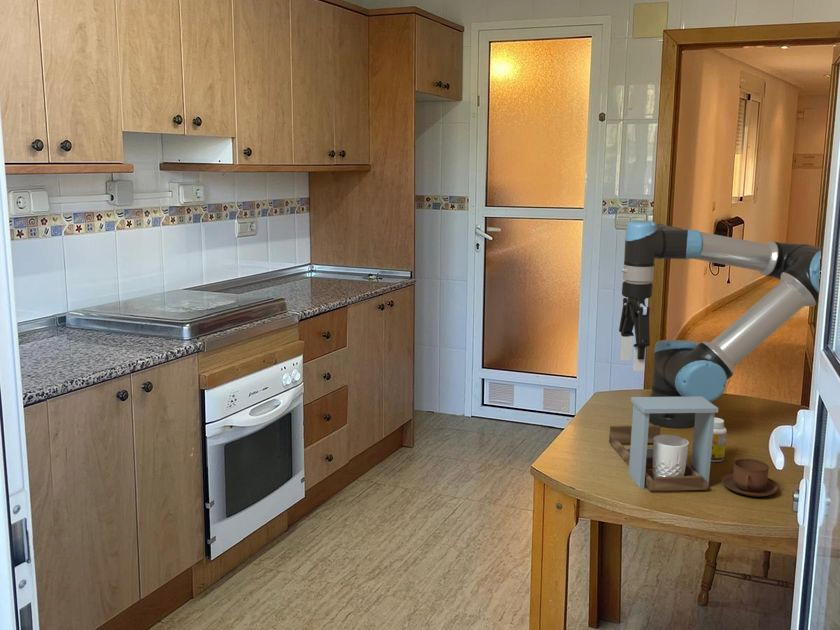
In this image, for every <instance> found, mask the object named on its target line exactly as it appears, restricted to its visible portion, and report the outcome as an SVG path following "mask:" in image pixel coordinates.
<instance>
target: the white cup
mask: <svg viewBox="0 0 840 630" xmlns="http://www.w3.org/2000/svg"><path fill="white" fill-rule="evenodd" d="M689 444H690V442H689V440H688V439H686V438H684V437H682V436H679V435H676V434H675V435H674V434H660V435H657V436H655V437H654V438H653V443H652V449H653V469H652V479H653V481H654V476H685V474H686V472H685V467H686V462H688V461H687V460H688V453H689V452H688V451H689Z"/></svg>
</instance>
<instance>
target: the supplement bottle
mask: <svg viewBox="0 0 840 630" xmlns="http://www.w3.org/2000/svg"><path fill="white" fill-rule="evenodd" d="M727 432H728V431H727V428H726V427H725V420H724V419H723V418H720V417H714V429H713V440H712V451H711V462H712V463H721V462H722V461H723V460H724V459H725V453H726V442H727V441H726V440H727Z"/></svg>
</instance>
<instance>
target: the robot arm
mask: <svg viewBox="0 0 840 630" xmlns="http://www.w3.org/2000/svg"><path fill="white" fill-rule="evenodd" d="M821 248H822V247H819V246H817V245H813V244H808V243H791V242H790V243H788V242H779V241H772V240H770V241H767V242H765V243H762V242H758V241H753V240H746V239H742V238H741V239H740V238H735V237H731V236H724V235H719V234H715V233H714V234H713V233H708V232H702V231H699V230H698V229H690V228H687V229H686V228H682V227H676V226H670V225H665V224H662V223H656V222H655V221H649V220H631V221H629V222H628V223H627V225H626V229H625V237H624V254H623V255H624V259H623V260H624V262H623V268H622V269H621V272H622V279H623V280H624V281H622V286H621V296H622V297H623V299H622V310H621V317H620V323H619V327H618V332H619V333H620V336H621V341H620V342H621V344H620V359H619V361H621V362H631V361H632V352H633V363H632V364H633V365H632V371H633V372H645V366H646V365H645V364H646V363H645V362H646V353H647V351H646V349H647V347H650V345H651V343H650V342H651V340H650V310H651V307H650V306H647V305H646V302H645V301H646V299H650V298H652V296H653V284H652V282H653V281H654V275H655V273H654V271H655V259H656V260H657V259H658V260H659V259H660V260H661V259H664V260H665V259H667V260H668V259H669V260H670V259H674V260H685V261H686V260H692V259H693V260H699V261H704V262H709V263H715V264H720V265H726V266H731V267H736V268H740V269H741V268H742V269H747V270H752V271H758V272H759V273H760V275H762V276H765V277H770V278H774V279H777V280H779V282H778V284H777V285H775V286H774V287H773V288H772V289H771V290H769V291H768V292H767V293H766V294H765V295H763V297H761V298H760V299H759V300H758V301H757V302H756V303H754V304H753V305H752V306H751V307H750V308H749V309H748V310H747V311H744V312H743V314H742V315H740V316H739V317H738V318H737V319H736V320H735V321H733V322H732V323H731V324H730V325H729V326H728V327H726V328H725V329H724V330H723V331H722V332H721V333H720V334H718V335H717V336H716V337H715V338H713V339H712V340H711V341H702V342H700V343H698V342H697V341H693V340H684V339H683V340H682V339H663V340H662V339H661V340H658V341H656V343H655V346H654V351H653V366H652V381H651V392H650V394H649V397H696V396H702V397H704V398H705V399H706V400H708V401H709V402H710V403H712V402H714V401H716V400H717V399H719V398H720V397H721V396H722V395H723V394H724V393H725V391H726V388H727V387H726V385H727V383H728V380H729V379H730V378H731V377H733V375H734V370H735V369H734V367H735V366H736V365H737V364H738V363H739V362H741V361H742V360H743V359H744V358H745V357H746V356H748V355H749V354H750V353H751V352H753V351H754V350H755V349H756V348H757V347H758V346H759V345H761V344H762V343H763V342H764V341H766V340H767V339H768V338H769V337H770V336H771V335H772V334H773V333H775V332H776V331H777V330H778V329H780V328H781V327H782V326H783V325H784V324H785V323H787V322H788V321H789V320H791V318H793V316H795V315H796V314H798V312H800V311H801V310H802V309H803V308H804V307H814V306H816V305H817V304H818V303H819V302H818V292H819V279H820V259H821ZM633 329H634V332H633ZM633 336H634V338H635V343H634V344H633ZM633 347H634V348H633ZM632 349H633V350H634V351H633V350H632ZM650 423H651V424H653V425H659V426H660V427H666V428H671V429H673V428H674V429H675V428H676V429H686V428H694V424H695V413H650V414H649V424H650Z"/></svg>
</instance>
